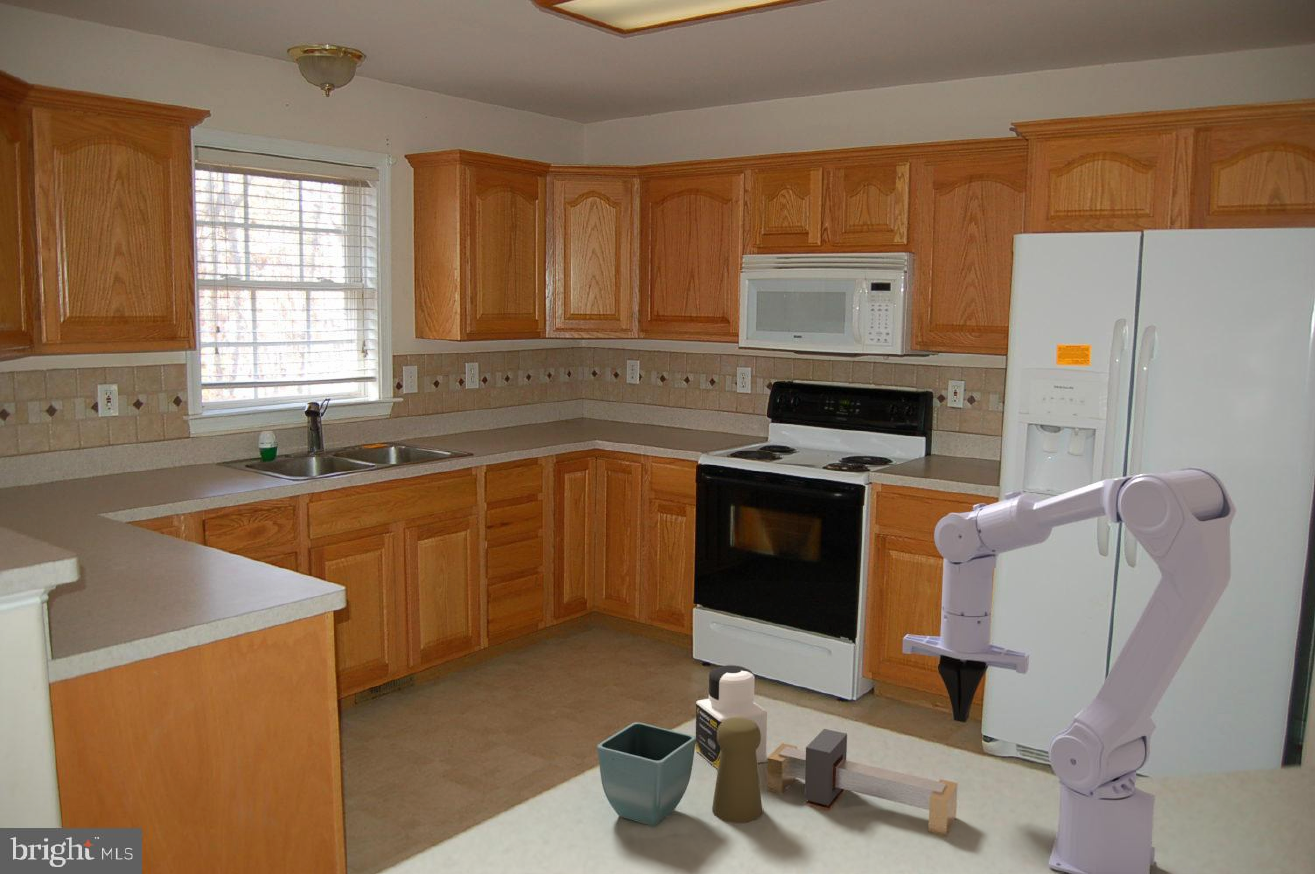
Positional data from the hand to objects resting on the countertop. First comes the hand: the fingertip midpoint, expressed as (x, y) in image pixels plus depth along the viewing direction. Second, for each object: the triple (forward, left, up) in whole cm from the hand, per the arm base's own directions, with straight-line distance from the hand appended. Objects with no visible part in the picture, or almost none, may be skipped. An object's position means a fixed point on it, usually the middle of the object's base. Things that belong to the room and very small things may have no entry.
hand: (961, 718), depth 119 cm
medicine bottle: (+29, +4, -10) cm, 31 cm away
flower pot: (+31, +23, -10) cm, 40 cm away
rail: (+10, +8, -10) cm, 16 cm away
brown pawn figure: (+22, +17, -10) cm, 30 cm away
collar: (+14, +8, -10) cm, 19 cm away
